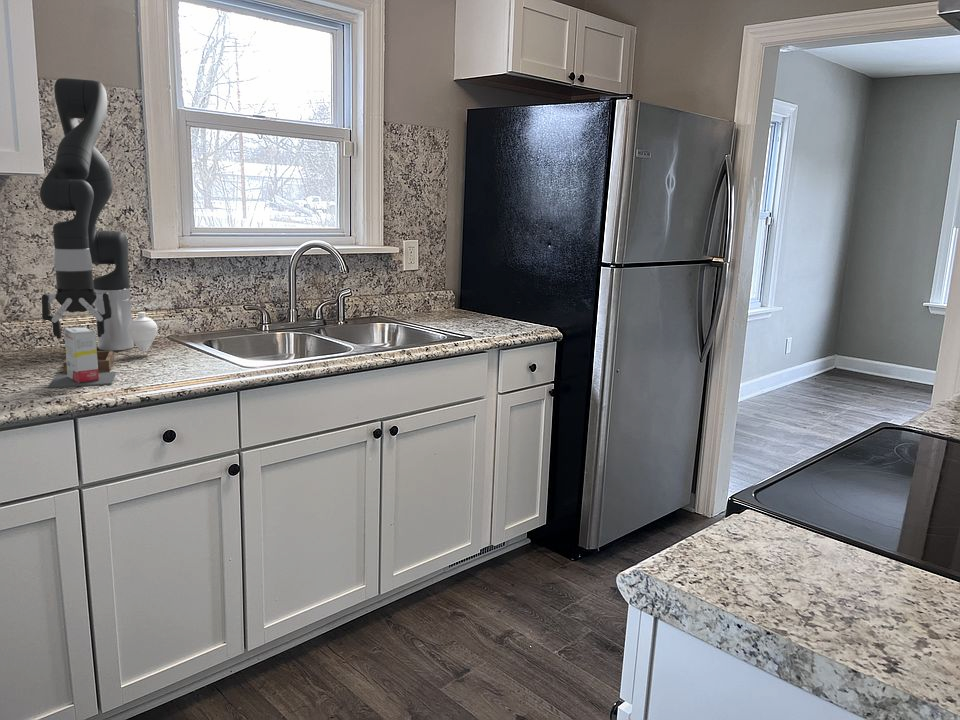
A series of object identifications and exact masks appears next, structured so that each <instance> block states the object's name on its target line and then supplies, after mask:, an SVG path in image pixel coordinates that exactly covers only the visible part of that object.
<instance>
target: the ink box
mask: <svg viewBox="0 0 960 720" xmlns="http://www.w3.org/2000/svg"><path fill="white" fill-rule="evenodd" d="M63 331H64V333H63V334H64V342H65V343H64V345H65V357H66V358H65V360H66V362H67V376H68V377H69V378H71V379H73V380H74V381H76V382H78V383H80V382H88V381H96V380H99V374H98V361H97V351H98V350H97V349H98V347H97V337H96V335H97V333H96V332H95V331H93V330H91V329H89V328H87V327H66V328H64V329H63Z"/></svg>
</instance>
